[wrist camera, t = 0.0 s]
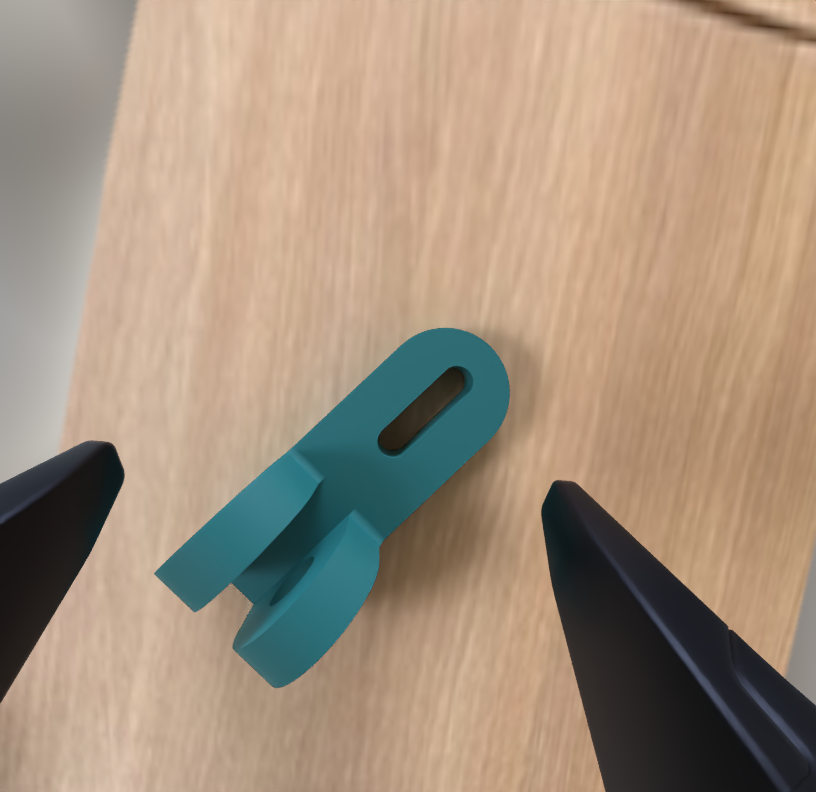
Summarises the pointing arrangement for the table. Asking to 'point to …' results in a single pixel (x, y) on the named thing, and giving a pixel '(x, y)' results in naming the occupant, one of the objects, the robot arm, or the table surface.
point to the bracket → (338, 504)
